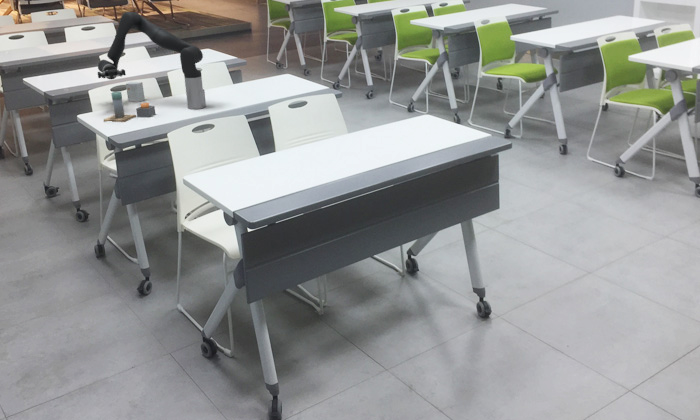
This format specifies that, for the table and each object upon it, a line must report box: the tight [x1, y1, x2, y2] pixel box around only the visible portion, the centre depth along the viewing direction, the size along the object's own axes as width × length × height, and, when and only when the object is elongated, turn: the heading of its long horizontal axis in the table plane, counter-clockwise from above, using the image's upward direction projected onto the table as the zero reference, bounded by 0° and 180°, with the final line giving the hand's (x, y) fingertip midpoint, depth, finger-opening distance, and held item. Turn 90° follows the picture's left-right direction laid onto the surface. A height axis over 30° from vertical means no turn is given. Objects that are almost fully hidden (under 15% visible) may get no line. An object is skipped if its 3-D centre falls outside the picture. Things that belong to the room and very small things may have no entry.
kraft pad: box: [103, 114, 137, 123], centre depth 387 cm, size 12×12×1 cm
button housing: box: [136, 105, 156, 118], centre depth 392 cm, size 7×7×4 cm
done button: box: [140, 102, 150, 108], centre depth 391 cm, size 4×4×3 cm
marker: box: [111, 91, 125, 118], centre depth 384 cm, size 5×5×13 cm
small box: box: [125, 81, 146, 103], centre depth 429 cm, size 8×6×10 cm
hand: (112, 75), depth 389 cm, fingers open, 8 cm apart
